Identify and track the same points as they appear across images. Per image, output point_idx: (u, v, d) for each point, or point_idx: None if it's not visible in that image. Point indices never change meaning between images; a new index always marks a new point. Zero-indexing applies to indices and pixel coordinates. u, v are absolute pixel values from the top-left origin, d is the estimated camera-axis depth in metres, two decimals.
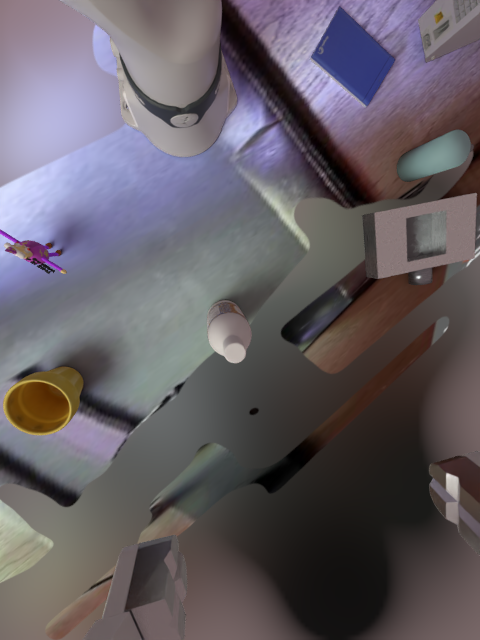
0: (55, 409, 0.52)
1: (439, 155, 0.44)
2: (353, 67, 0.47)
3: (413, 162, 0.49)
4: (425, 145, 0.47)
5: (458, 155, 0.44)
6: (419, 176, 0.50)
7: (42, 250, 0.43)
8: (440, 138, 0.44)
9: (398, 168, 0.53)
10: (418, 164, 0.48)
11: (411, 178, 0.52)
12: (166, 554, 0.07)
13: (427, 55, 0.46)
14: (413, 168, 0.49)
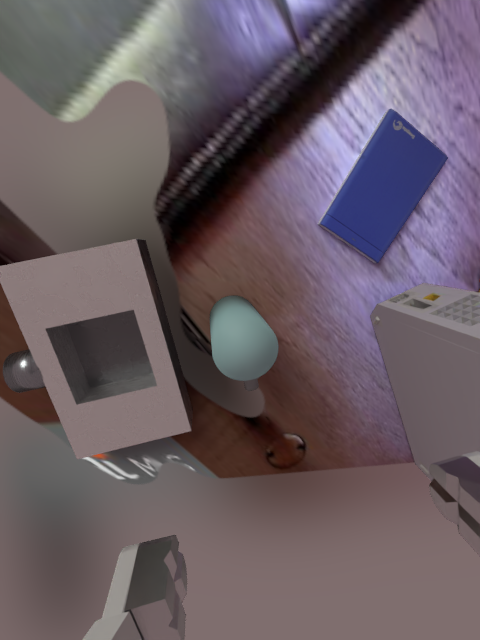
0: None
1: (232, 321, 0.21)
2: (372, 190, 0.29)
3: (232, 304, 0.27)
4: (257, 313, 0.25)
5: (234, 359, 0.22)
6: (211, 323, 0.28)
7: None
8: (264, 321, 0.23)
9: (228, 296, 0.30)
10: (226, 309, 0.26)
11: (211, 317, 0.29)
12: (166, 554, 0.07)
13: (382, 304, 0.30)
14: (222, 307, 0.27)
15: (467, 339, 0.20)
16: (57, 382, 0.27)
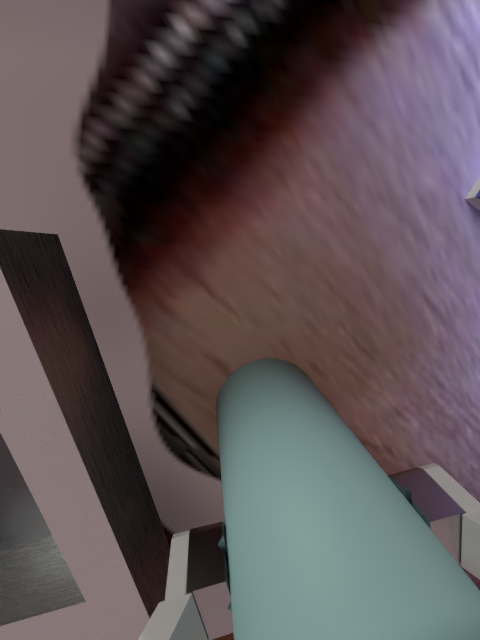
0: None
1: (343, 624, 0.04)
2: None
3: (281, 410, 0.10)
4: (365, 451, 0.08)
5: None
6: (221, 451, 0.11)
7: None
8: (446, 555, 0.06)
9: (259, 363, 0.13)
10: (269, 438, 0.09)
11: (220, 418, 0.12)
12: (219, 538, 0.08)
13: None
14: (253, 414, 0.10)
15: None
16: None
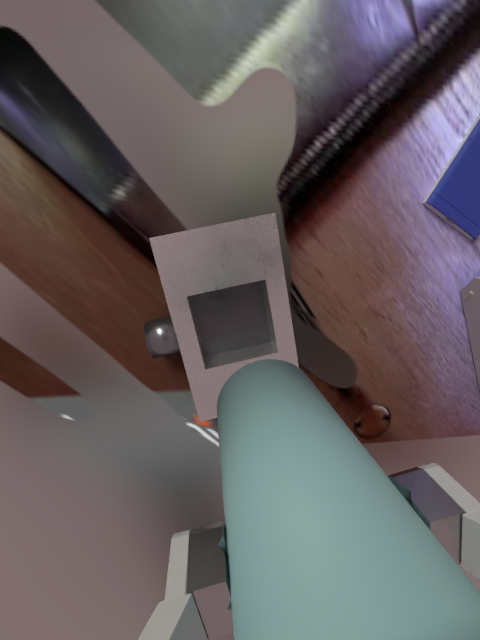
0: None
1: (343, 626, 0.04)
2: (476, 170, 0.31)
3: (282, 411, 0.10)
4: (365, 453, 0.08)
5: None
6: (222, 451, 0.11)
7: None
8: (446, 557, 0.06)
9: (259, 364, 0.13)
10: (270, 438, 0.09)
11: (220, 419, 0.12)
12: (219, 539, 0.08)
13: None
14: (254, 415, 0.10)
15: None
16: (191, 347, 0.29)
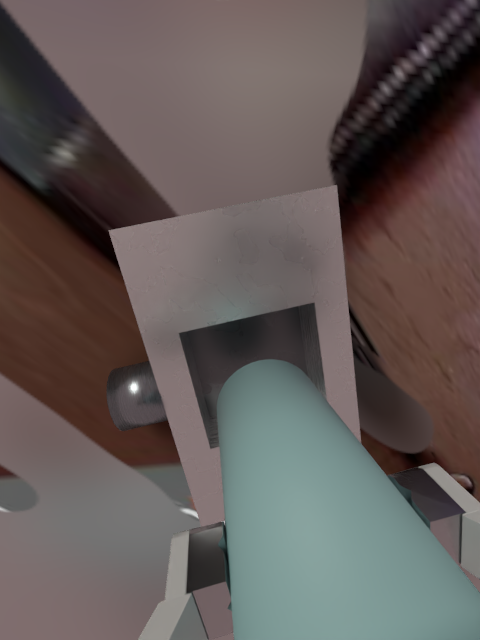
0: None
1: (344, 628, 0.04)
2: None
3: (282, 411, 0.10)
4: (365, 453, 0.08)
5: None
6: (222, 451, 0.11)
7: None
8: (447, 558, 0.06)
9: (259, 364, 0.13)
10: (270, 439, 0.09)
11: (220, 419, 0.12)
12: (219, 538, 0.08)
13: None
14: (254, 415, 0.10)
15: None
16: (187, 416, 0.17)
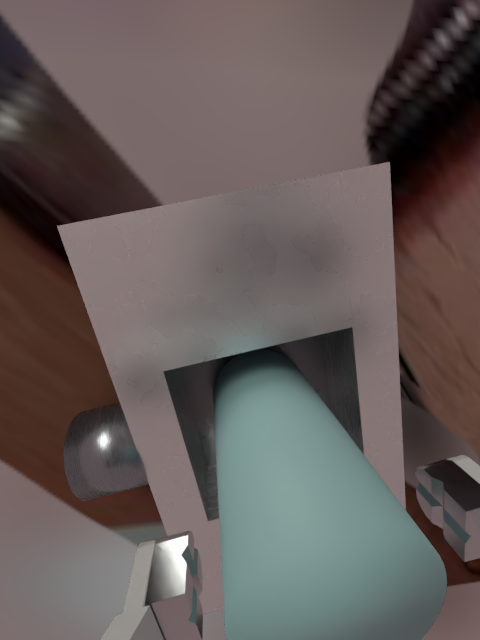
0: None
1: (300, 538, 0.06)
2: None
3: (268, 391, 0.11)
4: (338, 425, 0.10)
5: None
6: (216, 428, 0.12)
7: None
8: (392, 499, 0.07)
9: (251, 353, 0.15)
10: (256, 413, 0.10)
11: (216, 402, 0.14)
12: (183, 549, 0.07)
13: None
14: (244, 395, 0.11)
15: None
16: (176, 481, 0.13)
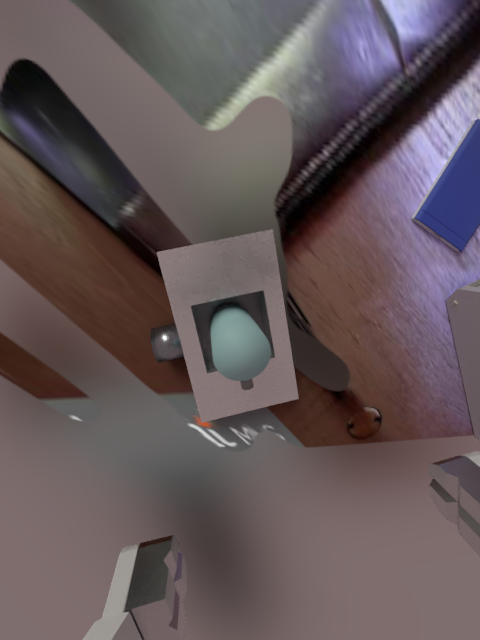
0: None
1: (230, 328, 0.24)
2: (460, 188, 0.34)
3: (230, 312, 0.30)
4: (253, 320, 0.28)
5: (232, 362, 0.25)
6: (211, 329, 0.30)
7: None
8: (258, 328, 0.26)
9: (226, 305, 0.33)
10: (224, 316, 0.29)
11: (210, 323, 0.32)
12: (166, 553, 0.07)
13: (463, 288, 0.35)
14: (221, 315, 0.30)
15: None
16: (194, 353, 0.31)
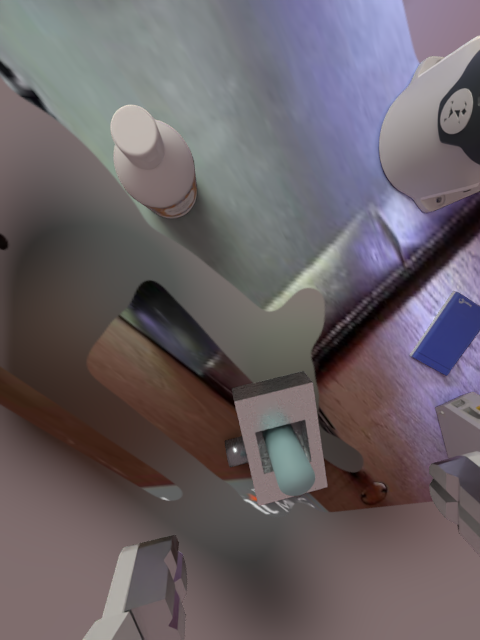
0: None
1: (290, 466, 0.37)
2: (445, 336, 0.47)
3: (282, 437, 0.43)
4: (299, 446, 0.42)
5: (290, 485, 0.38)
6: (268, 446, 0.44)
7: None
8: (306, 461, 0.39)
9: None
10: (280, 443, 0.42)
11: (266, 438, 0.45)
12: (166, 554, 0.07)
13: (447, 406, 0.48)
14: (276, 438, 0.43)
15: None
16: (255, 461, 0.44)
